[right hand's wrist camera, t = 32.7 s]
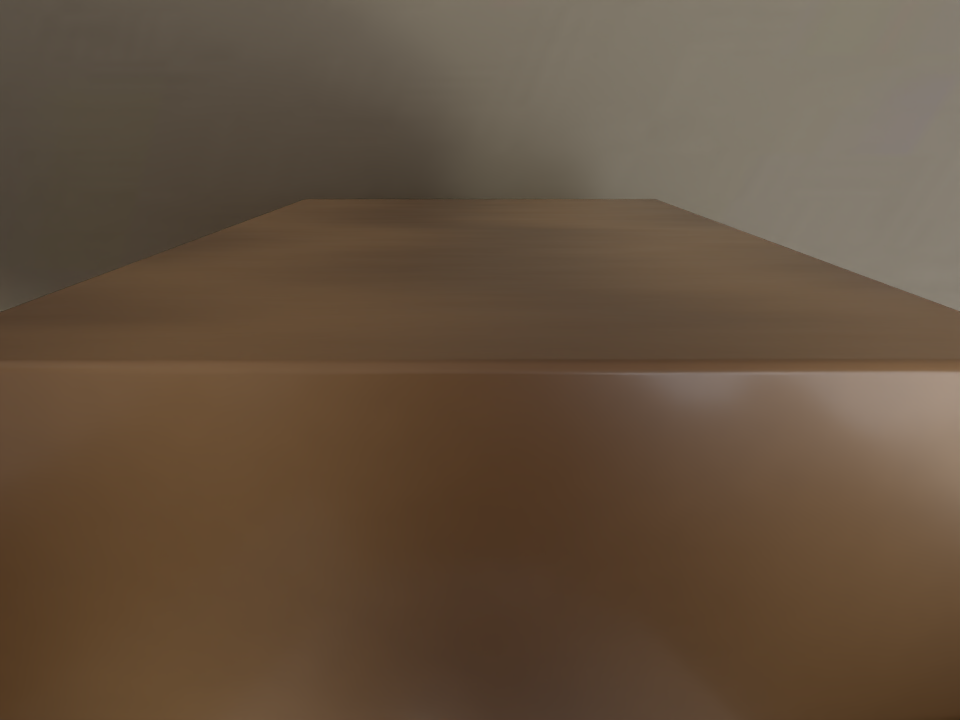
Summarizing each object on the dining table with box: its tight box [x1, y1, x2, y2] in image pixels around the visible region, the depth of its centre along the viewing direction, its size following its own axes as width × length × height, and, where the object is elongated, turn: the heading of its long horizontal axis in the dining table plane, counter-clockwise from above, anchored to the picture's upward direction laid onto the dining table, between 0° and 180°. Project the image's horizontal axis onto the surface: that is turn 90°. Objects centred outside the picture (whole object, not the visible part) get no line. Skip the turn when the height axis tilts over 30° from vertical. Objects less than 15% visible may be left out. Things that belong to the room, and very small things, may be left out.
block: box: [0, 199, 960, 720], centre depth 11 cm, size 9×9×12 cm
